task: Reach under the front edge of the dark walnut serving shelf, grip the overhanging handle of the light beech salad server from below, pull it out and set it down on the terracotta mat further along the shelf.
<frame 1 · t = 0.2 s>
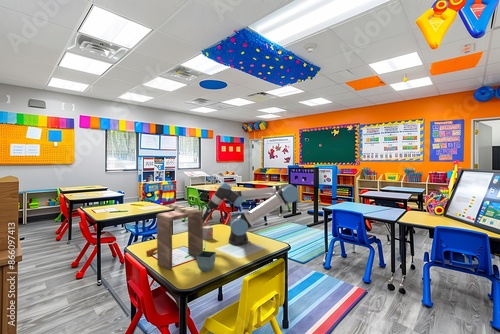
hand: (197, 227, 165), 16 cm above the table, tool tilted 35°, fingers open, 13 cm apart
serving shelf: (180, 260, 147), on the table
salad server: (180, 209, 154), point 30 cm above the table, touching serving shelf
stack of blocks: (202, 236, 195), on the table
flower pot: (206, 270, 134), on the table
kendama: (159, 250, 165), on the table
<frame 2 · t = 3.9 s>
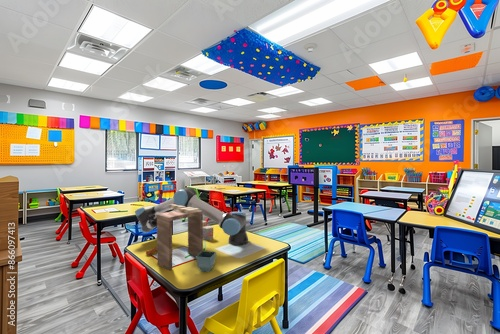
hand: (167, 211, 165), 26 cm above the table, tool pointing upward, fingers open, 13 cm apart
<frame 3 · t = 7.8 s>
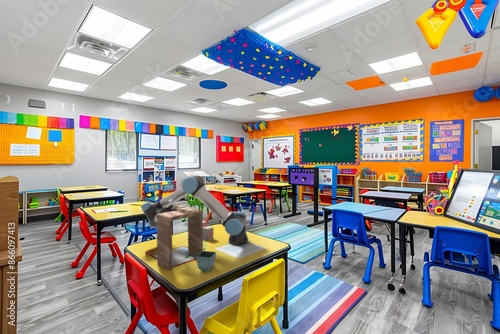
hand: (178, 203, 156), 34 cm above the table, tool pointing upward, fingers closed on salad server, 2 cm apart
salad server: (180, 209, 154), point 30 cm above the table, touching gripper
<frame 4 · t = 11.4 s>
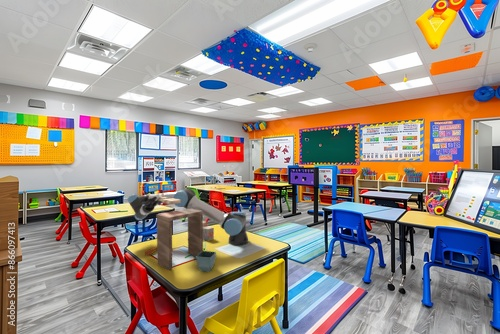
hand: (161, 194, 160), 39 cm above the table, tool pointing upward, fingers closed on salad server, 2 cm apart
salad server: (164, 201, 158), point 35 cm above the table, touching gripper
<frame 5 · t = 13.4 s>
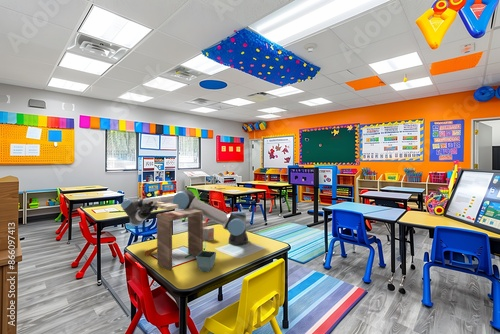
hand: (158, 199, 150), 37 cm above the table, tool pointing upward, fingers closed on salad server, 2 cm apart
salad server: (160, 206, 148), point 34 cm above the table, touching gripper
when the fingers open (36 cm above the table, at t = 15.2 s): salad server drops 1 cm, resting on serving shelf.
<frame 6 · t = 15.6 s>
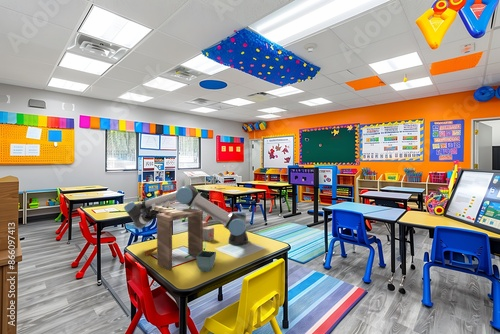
hand: (162, 203, 149), 35 cm above the table, tool pointing upward, fingers open, 9 cm apart
salad server: (165, 212, 146), point 30 cm above the table, touching serving shelf
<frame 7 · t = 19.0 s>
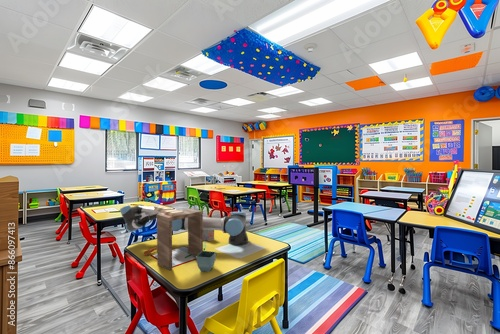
hand: (154, 213, 159), 27 cm above the table, tool pointing upward, fingers open, 13 cm apart
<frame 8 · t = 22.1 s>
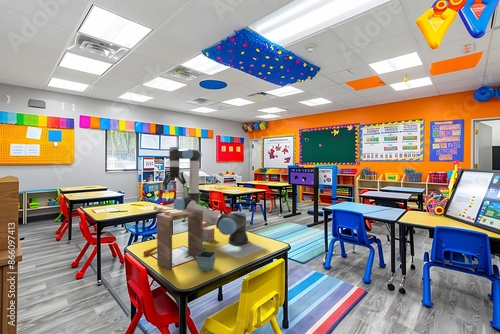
hand: (174, 193, 188), 37 cm above the table, tool pointing down, fingers open, 13 cm apart
at the end: salad server inside the target area (0.2 cm from its centre), point 30.2 cm above the table; the gripper is holding nothing; salad server tilted 0° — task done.
